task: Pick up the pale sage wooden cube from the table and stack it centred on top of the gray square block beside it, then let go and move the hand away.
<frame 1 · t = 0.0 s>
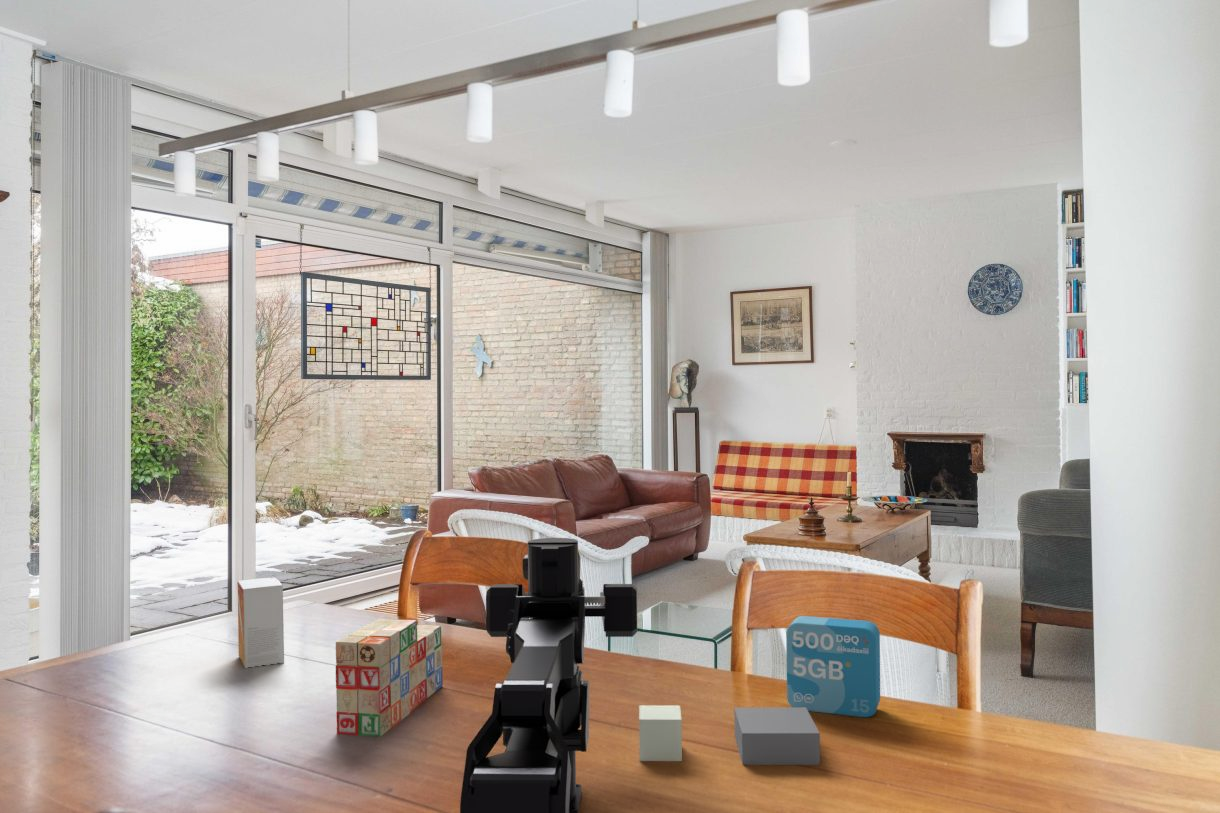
hand: (567, 596, 123), 17 cm above the table, tool horizontal, fingers open, 9 cm apart
gray square block: (775, 752, 112), on the table
small box: (261, 661, 154), on the table
stack of blocks: (393, 710, 129), on the table
data package: (833, 710, 127), on the table
sage cube: (660, 753, 112), on the table
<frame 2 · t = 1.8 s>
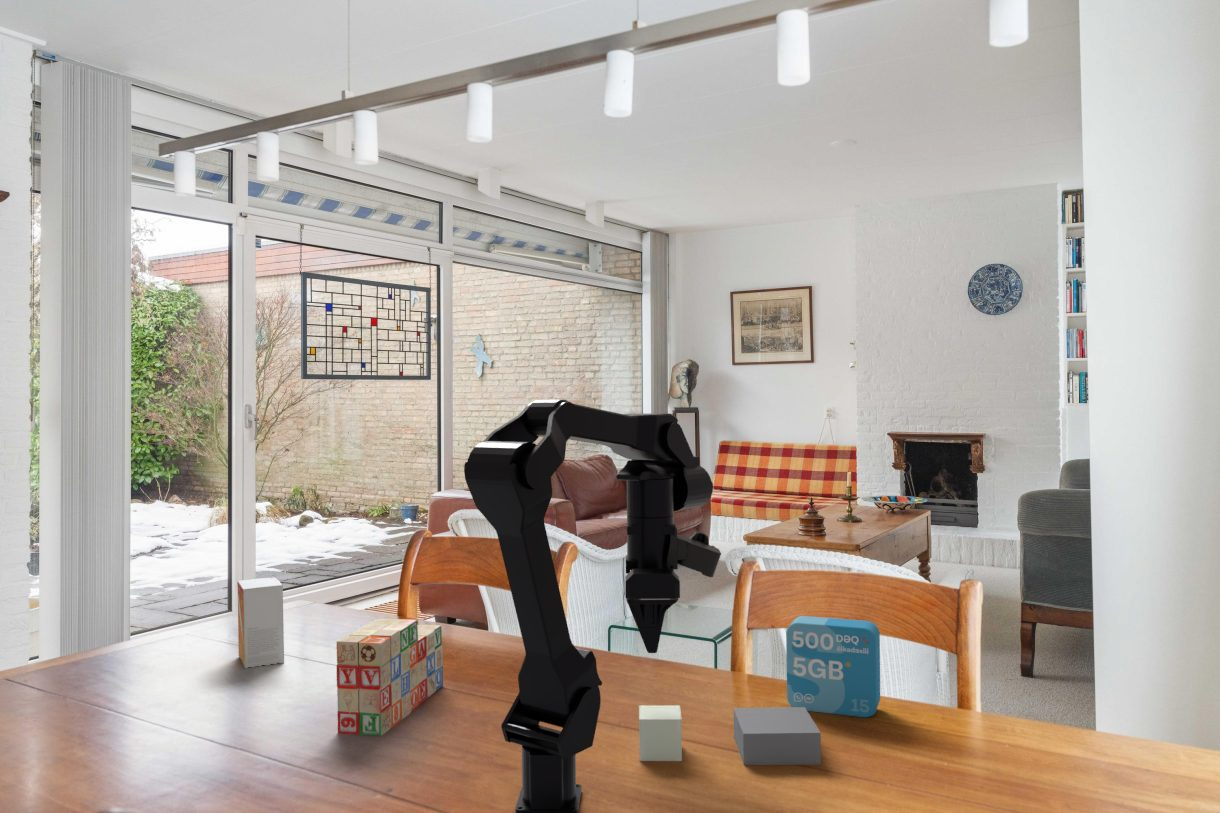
hand: (651, 642, 113), 13 cm above the table, tool pointing down, fingers open, 9 cm apart
nothing on the table moved.
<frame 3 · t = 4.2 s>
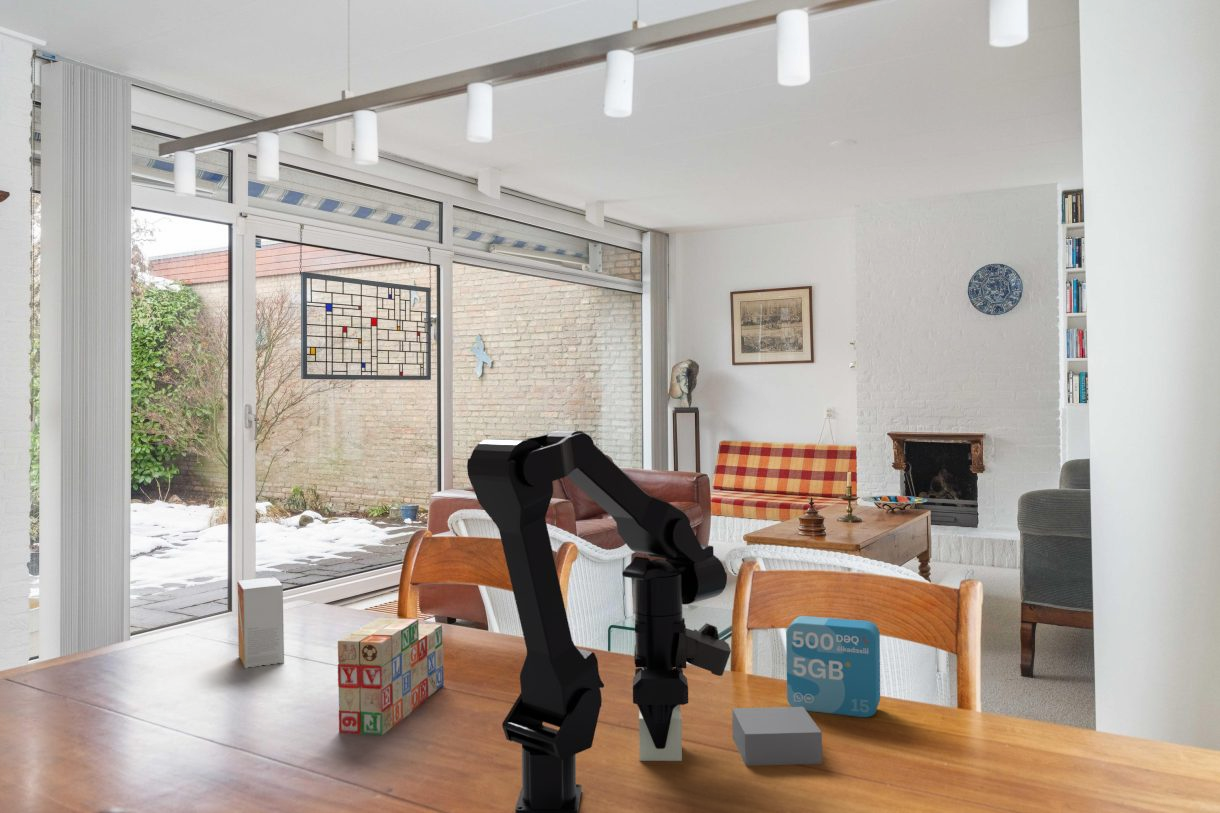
hand: (660, 739, 112), 2 cm above the table, tool pointing down, fingers closed on sage cube, 5 cm apart
sage cube: (660, 752, 112), on the table, touching gripper
everything else where it was.
when the fingers open (7 cm above the table, at t = 8.4 s): sage cube drops 2 cm, resting on gray square block.
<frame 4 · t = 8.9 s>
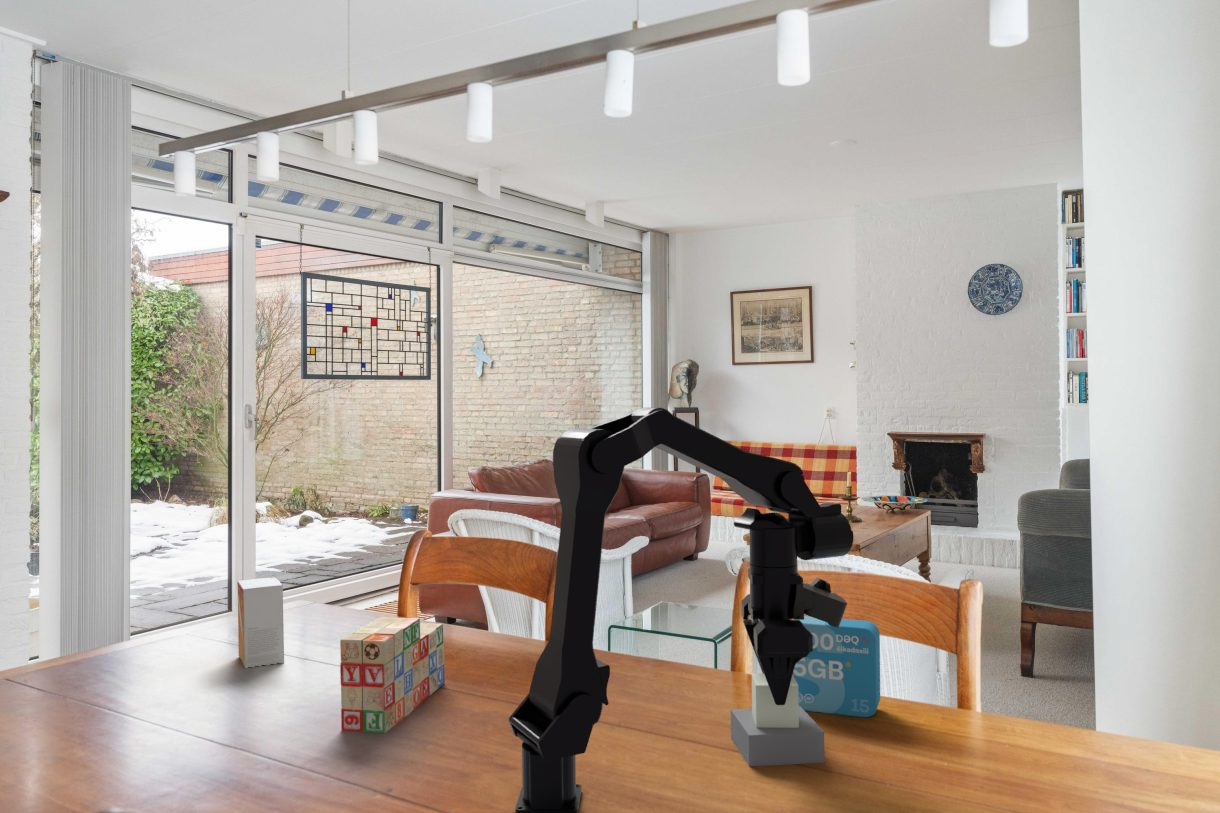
hand: (774, 692, 112), 7 cm above the table, tool pointing down, fingers open, 9 cm apart
gray square block: (776, 753, 112), on the table, touching sage cube
sage cube: (774, 720, 112), point 4 cm above the table, touching gray square block
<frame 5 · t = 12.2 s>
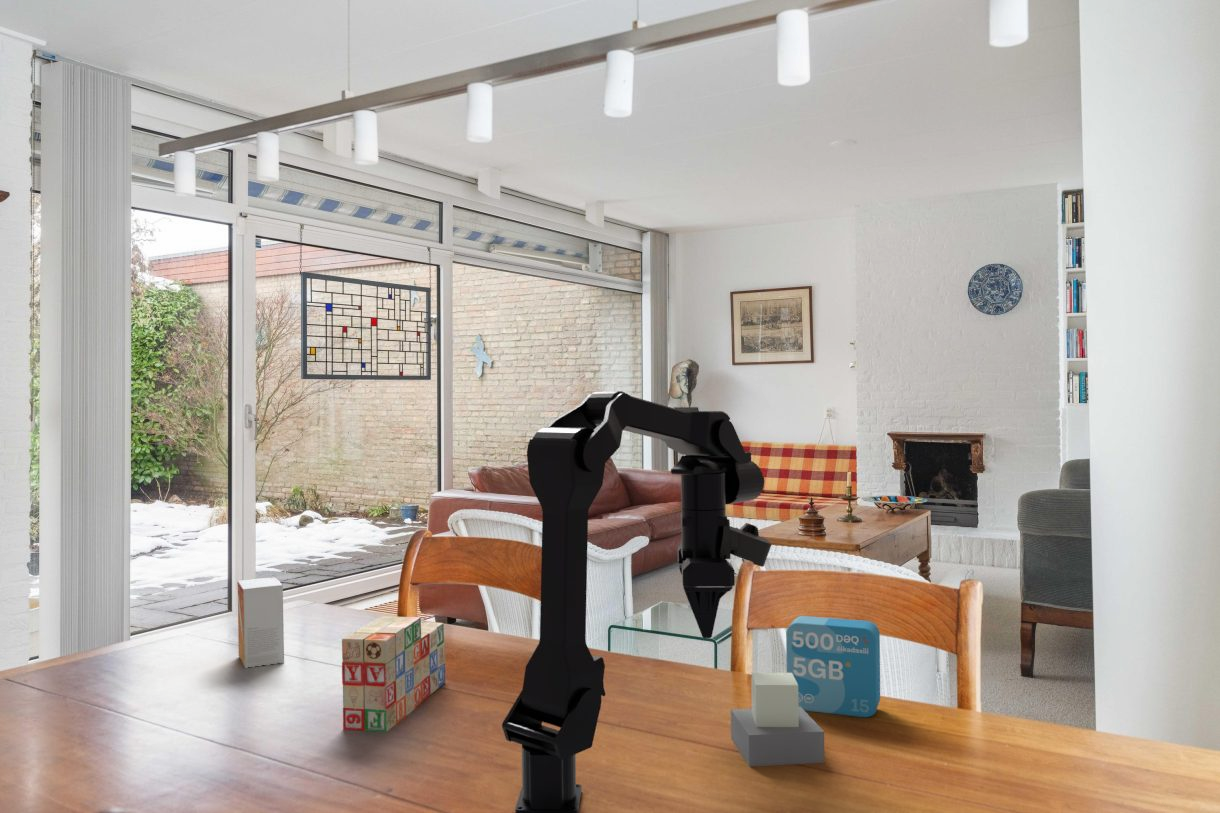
hand: (704, 628, 119), 13 cm above the table, tool pointing down, fingers open, 9 cm apart
at the end: sage cube 0.2 cm off-centre on the gray square block, point 4.0 cm above the gray square block's base; sage cube tilted 0°; the gripper is holding nothing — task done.
